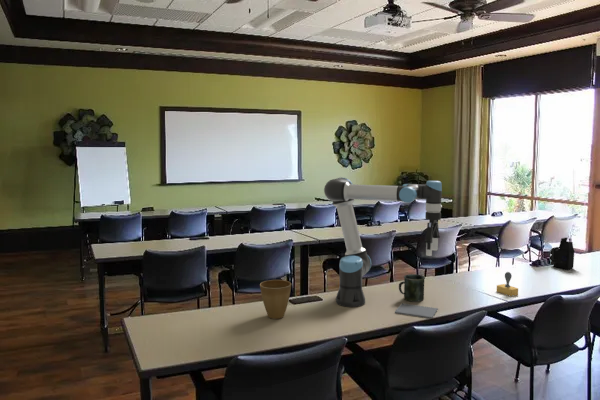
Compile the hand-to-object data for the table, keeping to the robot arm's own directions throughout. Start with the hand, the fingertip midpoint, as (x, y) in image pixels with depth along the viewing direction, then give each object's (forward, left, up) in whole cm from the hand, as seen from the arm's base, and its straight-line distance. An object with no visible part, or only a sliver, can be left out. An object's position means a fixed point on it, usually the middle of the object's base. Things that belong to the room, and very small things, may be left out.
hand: (431, 253), depth 255 cm
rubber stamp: (+34, +38, -27) cm, 58 cm away
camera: (+62, +114, -27) cm, 132 cm away
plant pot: (-63, -50, -27) cm, 85 cm away
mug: (-11, +4, -27) cm, 29 cm away
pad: (-4, -14, -27) cm, 31 cm away
